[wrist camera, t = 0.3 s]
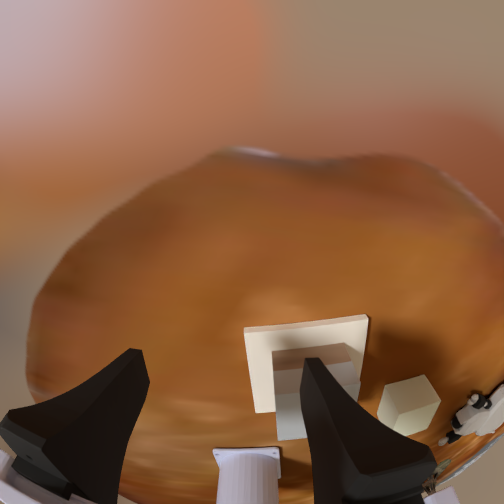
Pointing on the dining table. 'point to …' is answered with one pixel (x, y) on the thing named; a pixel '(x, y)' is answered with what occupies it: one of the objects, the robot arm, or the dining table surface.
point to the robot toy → (477, 416)
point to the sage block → (408, 405)
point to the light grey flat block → (289, 397)
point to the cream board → (295, 337)
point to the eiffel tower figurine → (435, 477)
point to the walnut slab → (309, 356)
